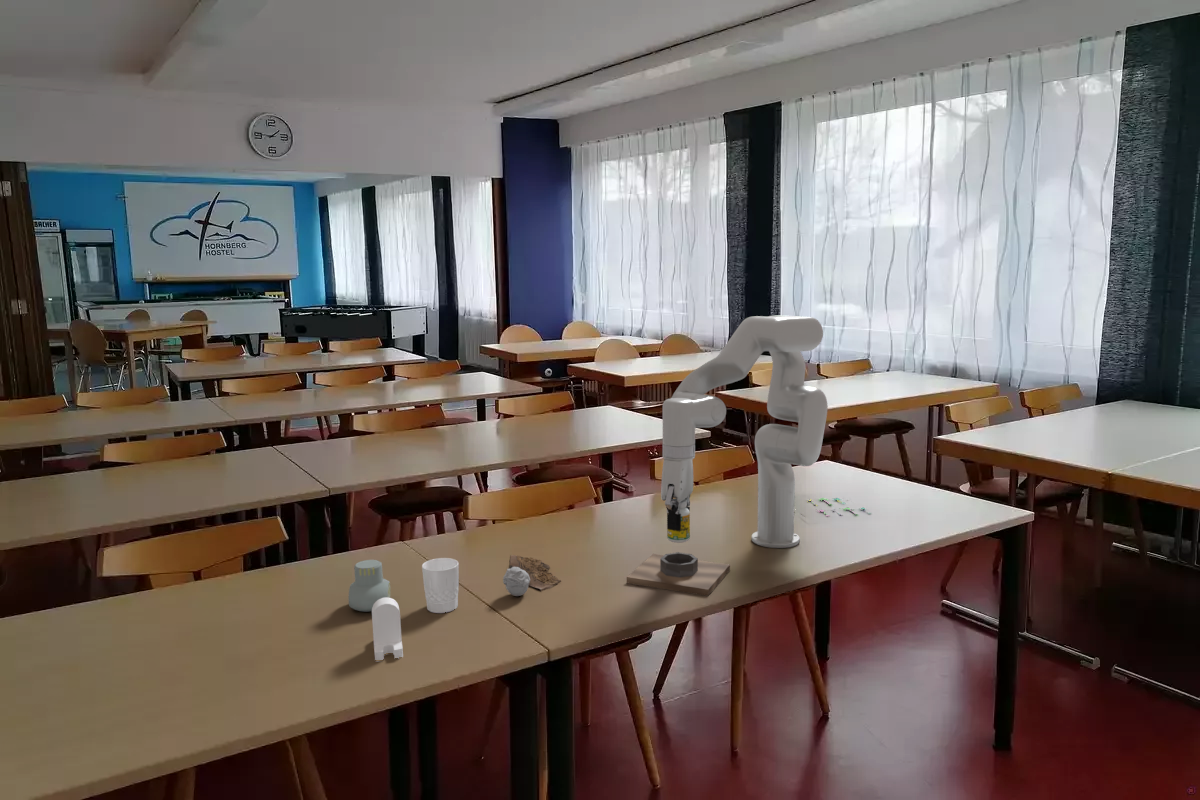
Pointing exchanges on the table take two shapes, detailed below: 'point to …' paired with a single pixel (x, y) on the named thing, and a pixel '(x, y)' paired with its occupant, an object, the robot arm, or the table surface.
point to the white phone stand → (386, 628)
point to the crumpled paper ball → (516, 581)
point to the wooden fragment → (535, 572)
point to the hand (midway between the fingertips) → (678, 525)
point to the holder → (679, 573)
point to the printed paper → (831, 504)
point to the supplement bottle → (685, 525)
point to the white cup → (441, 584)
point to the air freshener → (368, 585)
